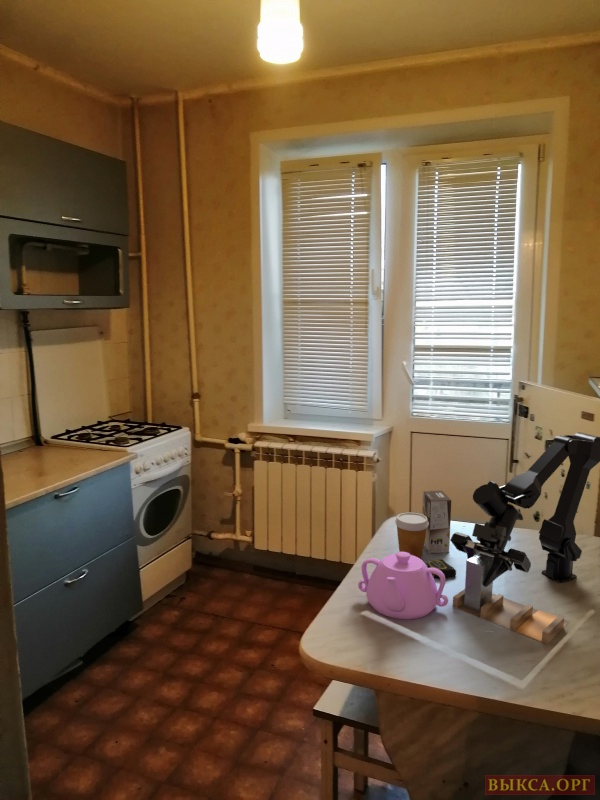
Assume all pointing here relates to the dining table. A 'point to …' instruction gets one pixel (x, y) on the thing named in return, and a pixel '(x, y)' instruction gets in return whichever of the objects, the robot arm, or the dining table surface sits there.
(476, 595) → the tall grey box
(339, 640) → the dining table surface
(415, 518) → the disposable coffee cup
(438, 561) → the tape measure
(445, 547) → the coffee box
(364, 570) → the teapot
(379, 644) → the dining table surface
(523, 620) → the rail rack
